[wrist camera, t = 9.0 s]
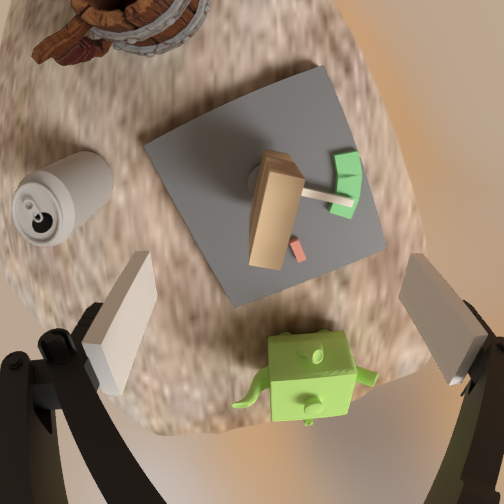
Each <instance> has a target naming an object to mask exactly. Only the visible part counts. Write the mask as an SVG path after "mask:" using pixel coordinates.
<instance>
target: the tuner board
mask: <svg viewBox="0 0 504 504" xmlns="http://www.w3.org/2000/svg"><path fill="white" fill-rule="evenodd" d="M144 148H145V150H146V152H147V154H148V156H149V157H150V159H151V161H152V163H153V165H154V167H155V169H156V171H157V172H158V174H159V176H160V178H161V180H162V182H163V184H164V185H165V187H166V189H167V191H168V193H169V195H170V196H171V198H172V200H173V202H174V204H175V206H176V207H177V209H178V211H179V213H180V215H181V216H182V218H183V220H184V222H185V224H186V225H187V227H188V229H189V231H190V232H191V234H192V236H193V238H194V240H195V241H196V243H197V245H198V247H199V248H200V250H201V252H202V254H203V255H204V257H205V259H206V261H207V262H208V264H209V266H210V267H211V269H212V271H213V273H214V274H215V276H216V278H217V279H218V281H219V283H220V285H221V286H222V288H223V290H224V291H225V293H226V295H227V296H228V298H229V300H230V301H231V303H232V305H233V306H234V308H236V307H238V306H241V305H244V304H247V303H249V302H252V301H255V300H258V299H260V298H263V297H266V296H268V295H271V294H274V293H276V292H279V291H282V290H284V289H287V288H290V287H292V286H295V285H297V284H300V283H303V282H305V281H308V280H310V279H313V278H315V277H318V276H321V275H323V274H326V273H328V272H331V271H333V270H336V269H338V268H341V267H343V266H346V265H348V264H351V263H353V262H356V261H358V260H360V259H363V258H365V257H368V256H370V255H373V254H375V253H377V252H380V251H382V250H384V249H387V247H386V243H385V239H384V235H383V231H382V228H381V224H380V220H379V217H378V213H377V210H376V206H375V203H374V199H373V196H372V193H371V190H370V186H369V183H368V180H367V177H366V174H365V171H364V168H363V165H362V162H361V159H360V156H359V151H358V150H357V147H356V144H355V142H354V139H353V136H352V133H351V131H350V128H349V125H348V123H347V120H346V117H345V115H344V112H343V110H342V107H341V105H340V102H339V100H338V97H337V95H336V92H335V90H334V88H333V85H332V83H331V81H330V78H329V76H328V74H327V71H326V69H325V67H324V65H322V66H319V67H316V68H313V69H311V70H308V71H305V72H302V73H299V74H297V75H294V76H291V77H289V78H286V79H283V80H281V81H278V82H276V83H273V84H271V85H268V86H266V87H263V88H261V89H258V90H256V91H253V92H251V93H249V94H246V95H244V96H242V97H240V98H237V99H235V100H233V101H231V102H228V103H226V104H224V105H222V106H220V107H218V108H215V109H213V110H211V111H209V112H207V113H205V114H203V115H201V116H199V117H197V118H195V119H193V120H191V121H189V122H187V123H185V124H183V125H181V126H179V127H177V128H175V129H173V130H171V131H170V132H168V133H166V134H164V135H162V136H160V137H158V138H157V139H155V140H153V141H151V142H150V143H148V144H146V145H144ZM264 149H268V150H273V151H278V152H282V153H287V154H289V155H290V156H291V158H292V159H293V161H294V163H295V164H296V166H297V167H298V169H299V170H300V172H301V173H302V175H303V176H304V178H305V183H304V187H306V188H311V189H315V190H319V191H324V192H328V193H332V194H336V195H340V196H344V197H349V198H353V199H354V203H353V206H352V207H348V206H344V205H340V204H336V203H331V202H327V201H323V200H318V199H314V198H309V197H305V196H301V198H300V202H299V206H298V210H297V213H296V217H295V221H294V224H293V228H292V232H291V235H290V239H289V243H288V246H287V250H286V254H285V257H284V261H283V264H282V268H281V271H280V270H274V269H269V268H263V267H257V266H251V265H249V215H250V211H251V206H252V201H253V198H252V196H251V195H250V193H249V190H248V177H249V174H250V172H251V170H252V169H253V168H254V167H255V166H256V165H258V164H260V163H261V160H262V155H263V151H264Z"/></svg>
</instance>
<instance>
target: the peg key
mask: <svg viewBox="0 0 504 504" xmlns="http://www.w3.org/2000/svg"><path fill="white" fill-rule="evenodd" d="M304 183H305V178H304V176H303V175H302V173H301V172H300V170H299V169H298V167H297V166H296V164H295V163H294V161H293V159H292V158H291V156H290V155H289V154H287V153H282V152H278V151H273V150H268V149H264V151H263V155H262V160H261V163H260V164H258V165H256V166H255V167H254V168H253V169H252V170H251V172H250V174H249V177H248V190H249V193H250V195H251V196H252V198H253V201H252V206H251V211H250V215H249V265H251V266H257V267H263V268H269V269H274V270H280V271H281V268H282V264H283V261H284V257H285V254H286V250H287V246H288V243H289V239H290V235H291V232H292V228H293V224H294V221H295V217H296V213H297V210H298V206H299V202H300V198H301V196H305V197H309V198H314V199H318V200H323V201H327V202H331V203H336V204H340V205H344V206H348V207H352V206H353V203H354V199H353V198H349V197H344V196H340V195H336V194H332V193H328V192H324V191H319V190H315V189H311V188H306V187H304Z"/></svg>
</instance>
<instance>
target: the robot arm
mask: <svg viewBox="0 0 504 504" xmlns="http://www.w3.org/2000/svg"><path fill="white" fill-rule="evenodd" d="M399 299H400V300H401V302H402V304H403V305H404V307H405V309H406V310H407V312H408V314H409V315H410V317H411V319H412V320H413V322H414V324H415V326H416V327H417V329H418V331H419V332H420V334H421V336H422V338H423V339H424V341H425V343H426V345H427V347H428V348H429V350H430V352H431V354H432V356H433V357H434V359H435V361H436V363H437V365H438V367H439V369H440V370H441V372H442V374H443V376H444V378H445V380H446V382H447V384H448V385H453V384H458V383H462V381H463V380H464V378H465V376H466V375H467V373H468V374H469V375H470V377H471V379H470V381H469V382H468V384H467V386H466V387H465V389H464V391H463V392H462V394H461V396H463V395H464V393H465V396H464V399H463V403H462V406H461V410H460V413H459V417H458V419H457V423H456V425H455V428H454V431H453V434H452V437H451V440H450V443H449V446H448V448H447V451H446V454H445V456H444V459H443V461H442V464H441V466H440V469H439V471H438V473H437V476H436V478H435V480H434V482H433V485H432V487H431V489H430V491H429V493H428V495H427V498H426V500H425V502H424V504H499V502H500V493H499V492H496V491H495V486H496V483H497V479H498V475H499V471H500V467H501V463H502V459H503V455H504V337H496V336H495V334H494V333H493V332H492V330H491V329H490V328H489V326H488V325H487V324H486V323H485V321H484V320H482V317H481V316H480V315H479V314H478V312H477V311H476V310H475V309H474V307H473V306H472V305H470V304H469V303H468V302H466V301H465V300H462V299H461V298H460V297H459V296H458V295H457V293H456V292H455V291H454V290H453V288H452V287H451V286H450V285H449V284H448V283H447V281H446V280H445V279H444V278H443V277H442V276H441V274H440V273H439V272H438V271H437V270H436V268H435V267H434V266H433V265H432V264H431V263H430V262H429V260H428V259H427V258H426V257H425V256H424V255H423V254H422V253H410V257H409V261H408V265H407V268H406V272H405V276H404V280H403V283H402V287H401V290H400V294H399ZM156 300H157V292H156V286H155V280H154V274H153V267H152V261H151V254H150V251H135V253H134V254H133V256H132V257H131V259H130V261H129V262H128V264H127V265H126V267H125V269H124V270H123V272H122V273H121V275H120V277H119V278H118V280H117V282H116V283H115V285H114V286H113V288H112V290H111V291H110V293H109V295H108V296H107V298H106V300H105V302H104V303H97V302H95V303H93V304H92V305H91V306H90V307H88V308H87V309H86V310H85V312H84V314H83V315H82V317H81V319H80V320H79V322H78V325H76V327H75V328H74V330H73V332H72V333H71V335H70V333H69V332H68V331H67V330H65V329H60V328H56V329H52V330H49V331H47V332H46V333H44V334H43V335H42V336H41V337H40V339H39V341H38V348H39V350H40V352H41V354H42V356H43V358H44V359H41V360H30V358H29V356H28V355H27V354H26V353H24V352H22V351H16V352H13V353H10V354H9V355H7V356H6V357H5V358H4V360H3V361H2V364H1V368H0V504H68V500H67V495H66V490H65V485H64V480H63V474H62V468H61V461H60V455H59V446H58V437H57V427H56V416H55V409H62V410H63V413H64V416H65V418H66V420H67V423H68V425H69V428H70V430H71V432H72V435H73V437H74V439H75V441H76V444H77V446H78V448H79V450H80V452H81V455H82V456H83V459H84V461H85V463H86V465H87V467H88V469H89V471H90V473H91V475H92V477H93V478H94V480H95V482H96V484H97V485H98V488H99V489H100V491H101V493H102V495H103V496H104V498H105V500H106V502H107V503H108V504H167V503H166V502H165V501H164V499H163V498H162V497H161V495H160V494H159V493H158V491H157V490H156V488H155V487H154V486H153V484H152V483H151V482H150V480H149V479H148V477H147V476H146V474H145V473H144V472H143V470H142V469H141V467H140V466H139V464H138V462H137V461H136V459H135V458H134V456H133V455H132V453H131V452H130V450H129V448H128V447H127V445H126V444H125V442H124V440H123V439H122V437H121V435H120V434H119V432H118V430H117V429H116V427H115V425H114V424H113V422H112V420H111V418H110V416H109V415H108V413H107V411H106V409H105V407H104V405H103V404H102V402H101V400H100V398H99V396H98V394H97V390H98V387H99V385H100V387H101V389H102V391H103V393H104V394H108V395H115V396H122V393H123V391H124V388H125V385H126V382H127V379H128V376H129V373H130V370H131V367H132V364H133V362H134V359H135V356H136V353H137V350H138V348H139V345H140V342H141V339H142V337H143V334H144V331H145V329H146V326H147V323H148V321H149V318H150V316H151V313H152V310H153V308H154V305H155V303H156Z"/></svg>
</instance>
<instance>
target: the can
mask: <svg viewBox="0 0 504 504" xmlns="http://www.w3.org/2000/svg"><path fill="white" fill-rule="evenodd" d="M112 190H113V177H112V174H111V171H110V168H109V166H108V165H107V163H106V162H105V160H104V159H102V158H101V157H100V156H99V155H97V154H95V153H92V152H90V151H79V152H77V153H75V154H72V155H70V156H67V157H65V158H63V159H60V160H58V161H56V162H54V163H51V164H49V165H47V166H45V167H43V168H40V169H38V170H36V171H34V172H32V173H30V174H28V175H26V176H25V177H24V178H23V180H22V181H21V182H20V183H19V186H18V188H17V190H16V191H15V193H14V196H13V198H12V204H11V212H12V218H13V221H14V223H15V226H16V228H17V230H18V231H19V233H20V234H21V235H22V237H24V238H25V239H26V240H27V241H28V242H30V243H32V244H34V245H36V246H47V245H50V246H54V245H58V244H61V243H63V242H64V241H65V240H66V239H67V238H68V237H69V236H71V235H72V234H73V233H74V232H75V231H76V230H77V229H78V228H79V227H80V226H82V225H83V224H84V223H85V222H86V221H87V220H88V219H89V218H91V217H92V216H93V215H94V214H95V213H96V212H97V211H99V210H100V209H101V208H102V207H103V206H104V205H106V203H107V202H108V200H109V199H110V197H111V194H112Z"/></svg>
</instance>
